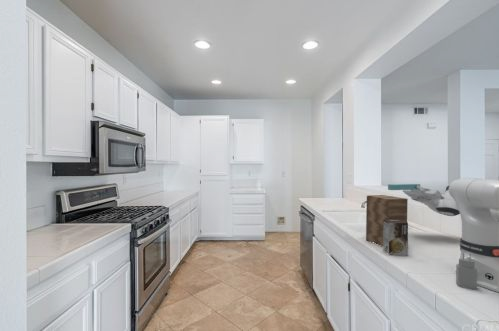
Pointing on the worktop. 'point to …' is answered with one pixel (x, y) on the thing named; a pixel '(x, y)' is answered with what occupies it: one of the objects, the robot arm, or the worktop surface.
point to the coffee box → (395, 237)
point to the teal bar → (402, 186)
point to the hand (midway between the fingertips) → (413, 185)
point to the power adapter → (466, 273)
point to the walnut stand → (383, 214)
